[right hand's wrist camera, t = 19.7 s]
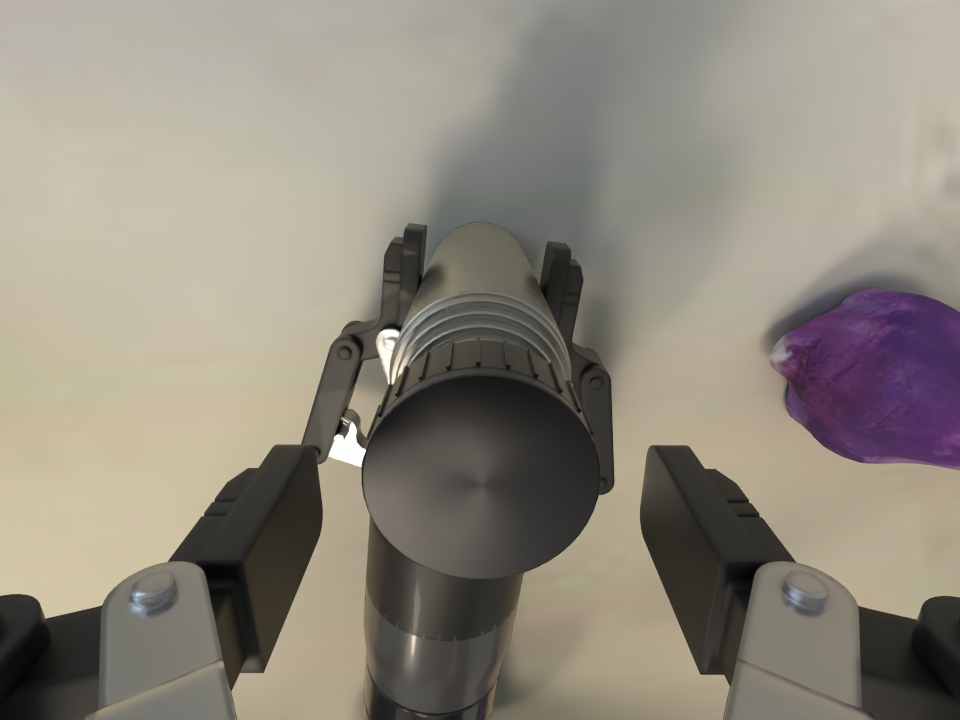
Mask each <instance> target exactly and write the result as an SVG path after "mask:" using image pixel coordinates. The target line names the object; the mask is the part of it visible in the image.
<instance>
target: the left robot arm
mask: <svg viewBox="0 0 960 720" xmlns="http://www.w3.org/2000/svg"><path fill="white" fill-rule="evenodd" d="M426 236H427V225H419V224H411V223H409V224H408V225H407V226H406V228H405V230H404V236H403V238H401V237H395V238H394V239H393V240H392V241H391V243H390V245H389V247H388V249H387V251H386V253H385V255H384V271H383V286H382V302H381V316H380V317H379V318H377V319H375V320H371V321H367V322H361V321H351V322H349V323H348V324H347V325H346V326H345V327H344V329H343V330H342V332H341V335H340V336H339V337H338V338H337V339H336V340H335V341H334V342H333V343H332V345H331V347H330V350H329V353H328V356H327V360H326V363H325V366H324V370H323V373H322V376H321V380H320V383H319V386H318V390H317V393H316V396H315V400H314V403H313V406H312V410H311V413H310V416H309V420H308V423H307V426H306V430H305V433H304V437H303V440H302V443H301V445H312V446H313V447H314V449H315V452H316V458H317V464H321V463H323V462H324V461H326V459H327V458H328V456H329V457H332V458H335V459H338V460H341V461H344V462H348V463H351V464H354V465H357V466H360V467H361V468H362V465H363V464H362V461H363V458H364V454H365V451H366V448H367V444H368V442H369V440H366V437H365V436H364V435H363V434H362V433H361V430H360V424H361V420H360V417H359V415H358V414H357V413H356V412H355V411H354V410H353V409H348V406H349V403H350V400H351V397H352V394H353V391H354V388H355V385H356V382H357V379H358V376H359V372H360V369H361V366H362V363H363V361H364V360H369V359H373V358H378V357H380V360H381V363H382V366H383V369H384V373H385V376H386V379H387V382H388V386H389V384H390V380H389V369H390V360H391V356H392V351H393V349H394V346H395V344H396V341H397V339H398V336H399V334H400V331H401V329H402V327H403V324H404V322H405V320H406V317H407V315H408V313H409V310H410V308H411V306H412V303H413V301H414V299H415V296H416V294H417V292H418V289H419V287H420V285H421V282H422V280H423V270H424V259H425V247H426ZM582 285H583V276H582V271H581V266H580V265H579V264H578V263H577V262H576V260H574V259H571V249H570V248H569V247H568V246H567V245H566V244H565V243H558V242H550V241H548V243H547V246H546V250H545V256H544V262H543V268H542V274H541V280H540V288H541V291H542V293H543V295H544V297H545V300H546V302H547V304H548V306H549V308H550V311H551V313H552V315H553V317H554V320H555V322H556V324H557V326H558V329H559V331H560V333H561V335H562V338H563V340H564V342H565V345H566V348H567V350H568V354H569V358H570V363H571V383H573V389H574V391H575V394H576V397H577V399H578V401H580V400H581V402H582V405H583V407H584V410H585V412H586V415H587V417H588V420H589V422H590V424H591V427H592V429H593V432H594V435H592V438H593V441H594V443H595V446H596V449H597V451H598V454H599V463H600V471H601V473H600V489H599V495H603V494H606V493H608V492H609V491H611V489H612V488H613V486H614V457H613V427H612V398H611V378H610V376H609V374H608V372H607V370H606V369H605V367H604V365H603V363H602V362H601V360H600V358H599V356H598V355H597V353H596V352H595V351H594V350H592V349H588V348H582V347H580V346H578V345H576V344H574V343H573V342H572V336H573V331H574V326H575V321H576V315H577V310H578V304H579V300H580V294H581V290H582ZM522 577H523V573H520V574H517V575H513V576H509V577H503V578H496V579H465V578H459V577H453V576H449V575H445V574H441V573H438V572H435V571H433V570H430V569H428V568H425V567H423V566H421V565H419V564H417V563H416V562H414V561H412V560H410V559H409V558H407V557H406V556H405V555H403V554H402V553H400V552H399V551H398V550H397V549H396V548H395V547H394V546H392V545H391V544H390V543H389V542H388V540H387V539H386V538H385V537H384V536H383V535H382V534H381V532H380V531H379V529H378V528H377V526H376V525H375V523H374V521H373V519H372V517H371V515H370V527H369V543H368V558H367V574H366V590H365V606H364V633H365V641H366V665H365V680H364V697H363V720H493V718H492V709H493V704H494V697H495V692H496V686H497V681H498V675H499V671H500V667H501V664H502V661H503V659H504V656H505V654H506V651H507V648H508V645H509V642H510V638H511V634H512V630H513V625H514V620H515V614H516V609H517V604H518V599H519V593H520V588H521V583H522Z"/></svg>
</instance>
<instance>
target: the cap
mask: <svg viewBox="0 0 960 720" xmlns="http://www.w3.org/2000/svg"><path fill="white" fill-rule="evenodd" d="M592 435H594V432H593V429H592V427H591V424H590V422H589V420H588V417H587V415H586V412H585V410H584V407H583V405H582V402H581V400H580V401H578V399H577V397H576V394H575V391H574V389H573V386H572V384H571V382H570V380H567V381H566V379H565V378H564V377H563V376H562V375H561V374H560V373H559V372H558V370H557V369H556V368H555V365H554V363H552V362H550V363H548V362H547V361H546V360H544V359H543V358H541V357H540V356H538V355H537V354H535V353H533V350H532V349H530V348H529V349H528V350H526V349H524V348H522V347H519V346H516V345H513V344H509V343H507V341H506V340H503V342H499V341H490V340H480V338H476V340H471V341H463V342H457V343H454V342H453V341H452V342H449V345H446V346H443V347H440V348H438V349H435V350H433V351H431V352H429V351H426V352H425V353H424V356H422V357H421V358H419V359H417V360H416V361H415V362H413V363H412V364H411V365H410V366H409V367H408V366H407V365H406V366H405V367H404V368H403V371H402V373H401V375H400V376H399V377H398V378H397V379H396V380H395V382H394V383H393V385H392V384H389V386H388V388H387V390H386V393H385V396H384V398H383V401H382V404H381V405H379V407H378V409H377V412H376V414H375V417H374V420H373V422H372V425H371V427H370V430H369V432H368V435H367V438H366V440H369V442H368V444H367V448H366V451H365V454H364V458H363V461H362V464H363V465H362V488H363V494H364V499H365V502H366V505H367V508H368V511H369V513H370V515H371V517H372V519H373V521H374V523H375V525H376V526H377V528H378V529H379V531H380V532H381V534H382V535H383V536H384V537H385V538H386V539H387V540H388V542H389V543H390V544H391V545H392V546H394V547H395V548H396V549H397V550H398V551H399V552H400V553H402V554H403V555H405V556H406V557H407V558H409V559H410V560H412V561H414V562H416V563H417V564H419V565H421V566H423V567H425V568H428V569H430V570H433V571H435V572H438V573H441V574H445V575H449V576H453V577H459V578H465V579H496V578H503V577H509V576H513V575H517V574H520V573H524V572H526V571H529V570H532V569H534V568H537V567H539V566H540V565H542V564H544V563H546V562H548V561H550V560H551V559H553V558H554V557H556V556H557V555H559V554H560V553H561V552H562V551H564V550H565V549H566V548H567V547H568V546H569V545H571V543H572V542H573V541H574V540H575V539H576V538H577V537H578V536H579V535H580V533H581V532H582V530H583V529H584V527H585V526H586V524H587V523H588V521H589V519H590V517H591V515H592V513H593V511H594V508H595V505H596V502H597V499H598V495H599V489H600V473H601V471H600V463H599V454H598V451H597V449H596V446H595V443H594V441H593V438H592Z"/></svg>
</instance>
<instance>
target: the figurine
mask: <svg viewBox="0 0 960 720" xmlns="http://www.w3.org/2000/svg"><path fill="white" fill-rule="evenodd" d="M769 362H770V365H771V366H772V367H773V368H774V369H775V370H776V371H777V372H779V373H780V374H781V375H782V376H784V377H785V378H786V379H787V380H788V385H789V388H788V395H787V399H786V409H787V411H788V413H789V415H790V416H791V417H792V418H793V419H794V420H796V421H797V422H798V423H800V424H801V425H803V426H804V427H805V428H806V429H807V430H808V431H809V432H810V433H811V434H812V435H813V437H814V438H815V439H817V440H818V441H819V442H820V443H821V444H822V445H823V446H824V447H826V448H827V449H829V450H831V451H832V452H834V453H836V454H838V455H840V456H842V457H845V458H848V459H851V460H854V461H857V462H861V463H874V464H888V463H915V464H925V465H934V466H940V467H945V468H950V469H955V470H960V313H959V312H958V311H956V310H955V309H953V308H951V307H950V306H948V305H946V304H944V303H942V302H939V301H937V300H934V299H931V298H928V297H925V296H922V295H915V294H909V293H903V292H895V291H889V290H884V289H878V288H869V289H862V290H859V291H857V292H855V293H854V294H852V295H850V296H849V297H847V298H846V299H844V300H843V301H842V303H841V304H840V305H839V306H837V307H836V308H834V309H832V310H830V311H829V312H827V313H825V314H823V315H821V316H818V317H816V318H814V319H812V320H810V321H809V322H807V323H805V324H803V325H801V326H799V327H797V328H795V329H793V330H791V331H789V332H788V333H787V334H785V335H784V336H783V337H782V338H781V339H780V340H779V341H778V342H777V343H776V344H775V346H774V347H773V349H772V351H771V353H770V355H769Z"/></svg>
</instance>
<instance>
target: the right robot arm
mask: <svg viewBox="0 0 960 720" xmlns="http://www.w3.org/2000/svg"><path fill="white" fill-rule="evenodd" d="M322 518H323V508H322V499H321V491H320V483H319V474H318V466H317V458H316V452H315V449H314V447H313V446H312V445H275V446H274V447H273V448H272V449H271V451H270V452H269V454H268V455H267V456H266V458H265V459H264V461H263V462H262V464H261V465H260V467H259V468H248V469H246V470H245V471H243V472H242V473H240V474H239V475H237V476H236V477H235V478H233V479H232V480H230V481H229V482H227V483H226V485H225V486H224V487H223V489H222V490H221V491H220V493H219V494H218V495H217V497H216V498H215V502H212V503H211V505H210V506H209V507H208V509H207V510H206V511H205V514H204V516H202V517H201V518H200V519H199V521H198V522H197V523H196V525H195V526H194V527H193V529H192V530H191V531H190V533H189V534H188V535H187V537H186V538H185V539H184V541H183V542H182V543H181V545H180V546H179V547H178V549H177V550H176V551H175V553H174V554H173V555H172V557H171V558H170V559H169V561H168V562H166V563H161V564H157V565H153V566H150V567H148V568H145V569H143V570H141V571H138V572H136V573H135V574H133V575H131V576H129V577H128V578H126V579H125V580H123V581H122V582H121V583H119V584H118V585H117V586H116V587H115V588H114V589H113V590H112V591H111V592H110V593H109V594H108V596H107V597H106V599H105V600H104V603H103V605H102V606H99V607H95V608H91V609H86V610H82V611H77V612H73V613H69V614H64V615H60V616H55V617H51V618H47V619H45V617H44V614H43V611H42V608H41V606H40V603H39V602H38V600H37V599H35V598H34V597H32V596H28V595H22V594H11V595H4V596H0V720H237V717H236V712H235V707H234V703H233V698H232V694H231V691H232V689H233V687H234V684H235V682H236V680H237V678H238V676H239V673H264V671H265V668H266V666H267V663H268V661H269V658H270V656H271V654H272V651H273V649H274V646H275V644H276V641H277V639H278V636H279V634H280V632H281V629H282V627H283V624H284V622H285V619H286V617H287V615H288V612H289V610H290V607H291V605H292V602H293V600H294V598H295V595H296V593H297V590H298V588H299V585H300V583H301V580H302V578H303V576H304V573H305V571H306V568H307V566H308V563H309V561H310V559H311V556H312V554H313V551H314V549H315V546H316V544H317V542H318V539H319V536H320V532H321V527H322ZM640 522H641V530H642V534H643V538H644V540H645V543H646V545H647V548H648V550H649V552H650V555H651V557H652V560H653V562H654V564H655V567H656V569H657V572H658V574H659V576H660V579H661V581H662V584H663V586H664V588H665V591H666V593H667V596H668V598H669V600H670V603H671V605H672V608H673V610H674V612H675V615H676V617H677V620H678V622H679V624H680V627H681V629H682V632H683V634H684V636H685V639H686V641H687V644H688V646H689V648H690V651H691V653H692V656H693V658H694V660H695V663H696V665H697V668H698V670H699V672H700V675H725V677H726V679H727V681H728V683H729V685H730V689H729V694H728V698H727V703H726V707H725V712H724V717H723V720H960V598H959V597H952V596H939V597H933V598H930V599H928V600H927V601H925V602H924V604H923V605H922V608H921V611H920V613H919V616H918V619H917V620H915V619H911V618H906V617H902V616H898V615H893V614H889V613H884V612H880V611H876V610H871V609H867V608H864V607H860V606H858V605H857V603H856V600H855V599H854V597H853V596H852V594H851V593H850V592H849V591H848V590H847V589H846V588H845V587H844V586H843V585H842V584H841V583H839V582H838V581H837V580H835V579H834V578H832V577H831V576H829V575H827V574H825V573H824V572H822V571H819V570H817V569H815V568H812V567H810V566H807V565H803V564H799V563H796V562H795V560H794V559H793V558H792V556H791V555H790V554H789V552H788V551H787V550H786V548H785V547H784V546H783V544H782V543H781V542H780V540H779V539H778V538H777V537H776V535H775V534H774V533H773V531H772V530H771V529H770V527H769V526H768V525H767V523H766V522H765V521H764V519H763V518H760V517H759V513H758V512H757V510H756V509H755V508H754V506H753V505H752V504H751V503H749V500H748V498H747V497H746V496H745V494H744V493H743V492H742V490H741V489H740V488H739V486H738V485H737V484H736V483H735V482H733V481H732V480H730V479H729V478H727V477H726V476H725V475H723V474H722V473H720V472H719V471H717V470H716V469H705V468H704V467H703V466H702V464H701V463H700V461H699V460H698V458H697V457H696V456H695V454H694V453H693V451H692V450H691V448H690V447H689V446H686V445H652V446H650V447H649V449H648V452H647V457H646V466H645V474H644V482H643V490H642V498H641V506H640Z"/></svg>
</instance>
